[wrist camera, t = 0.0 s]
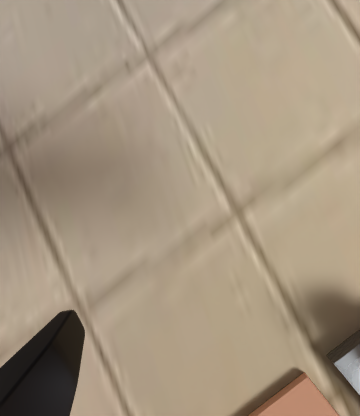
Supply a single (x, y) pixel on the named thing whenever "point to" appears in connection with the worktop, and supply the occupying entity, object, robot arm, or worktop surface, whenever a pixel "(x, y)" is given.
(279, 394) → the pink coaster
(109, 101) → the worktop surface
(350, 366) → the panel
